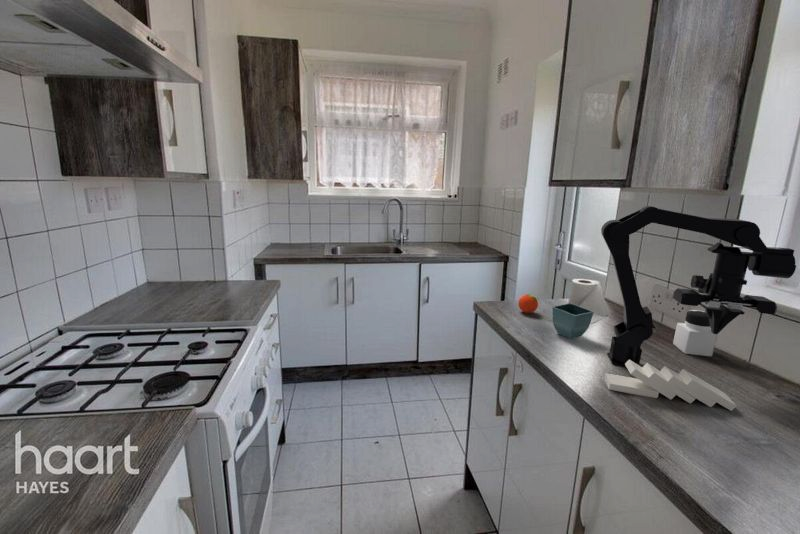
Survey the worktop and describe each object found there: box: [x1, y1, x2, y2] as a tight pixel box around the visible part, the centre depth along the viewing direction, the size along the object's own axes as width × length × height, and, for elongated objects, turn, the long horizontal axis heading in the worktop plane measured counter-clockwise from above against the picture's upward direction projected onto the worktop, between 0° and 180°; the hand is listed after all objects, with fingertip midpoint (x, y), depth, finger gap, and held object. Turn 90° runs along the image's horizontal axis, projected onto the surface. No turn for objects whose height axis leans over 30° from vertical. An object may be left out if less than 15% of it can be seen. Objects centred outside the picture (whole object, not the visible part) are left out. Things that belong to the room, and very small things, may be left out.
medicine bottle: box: [672, 309, 718, 357], centre depth 108 cm, size 7×7×12 cm
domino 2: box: [625, 359, 677, 400], centre depth 86 cm, size 2×5×10 cm
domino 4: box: [660, 365, 717, 408], centre depth 84 cm, size 2×5×10 cm
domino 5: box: [678, 368, 737, 412], centre depth 83 cm, size 2×5×10 cm
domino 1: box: [603, 372, 660, 399], centre depth 88 cm, size 2×5×10 cm
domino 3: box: [641, 362, 697, 405], centre depth 85 cm, size 2×5×10 cm
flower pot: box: [552, 302, 595, 340], centre depth 117 cm, size 9×9×9 cm
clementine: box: [517, 294, 541, 314], centre depth 136 cm, size 8×7×7 cm
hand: (714, 333), depth 91 cm, fingers closed
